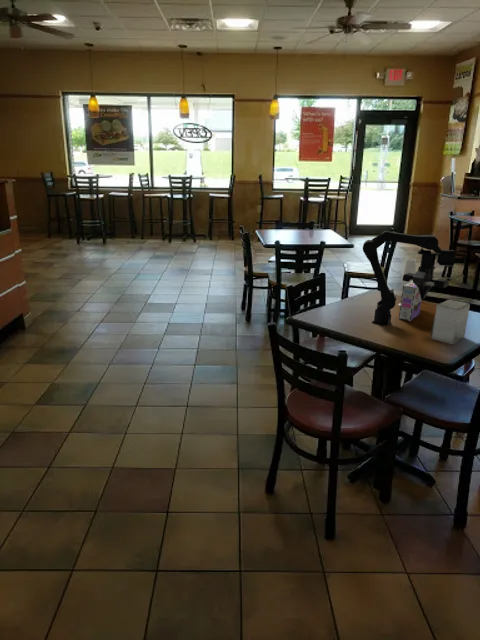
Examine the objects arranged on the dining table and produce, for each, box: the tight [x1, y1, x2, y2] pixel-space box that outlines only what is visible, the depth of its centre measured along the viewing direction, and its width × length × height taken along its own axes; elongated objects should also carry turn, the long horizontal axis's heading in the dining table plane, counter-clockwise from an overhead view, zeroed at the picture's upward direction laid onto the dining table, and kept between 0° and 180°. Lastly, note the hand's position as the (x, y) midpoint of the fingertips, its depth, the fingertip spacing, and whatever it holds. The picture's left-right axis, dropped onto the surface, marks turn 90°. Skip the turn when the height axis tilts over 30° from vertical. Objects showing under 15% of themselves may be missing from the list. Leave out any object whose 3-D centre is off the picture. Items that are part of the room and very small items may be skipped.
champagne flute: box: [397, 258, 417, 307], centre depth 245 cm, size 7×7×24 cm
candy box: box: [398, 281, 423, 322], centre depth 228 cm, size 14×6×16 cm, turn 143°
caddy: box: [431, 299, 471, 345], centre depth 200 cm, size 9×12×15 cm
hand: (422, 299), depth 212 cm, fingers closed
